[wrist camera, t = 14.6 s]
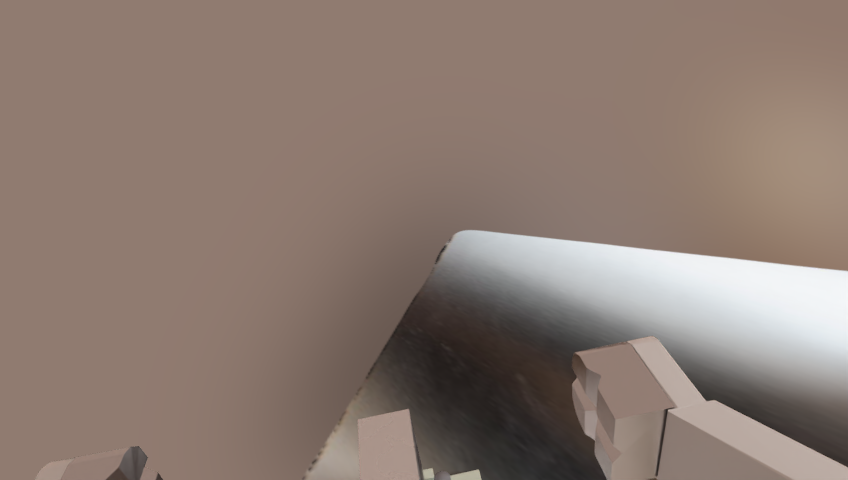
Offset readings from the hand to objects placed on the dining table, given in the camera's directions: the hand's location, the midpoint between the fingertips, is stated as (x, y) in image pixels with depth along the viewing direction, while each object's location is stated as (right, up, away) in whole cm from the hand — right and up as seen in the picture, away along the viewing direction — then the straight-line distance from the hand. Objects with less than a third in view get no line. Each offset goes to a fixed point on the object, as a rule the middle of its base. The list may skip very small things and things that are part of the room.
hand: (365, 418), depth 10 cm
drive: (0, -19, +28) cm, 33 cm away
